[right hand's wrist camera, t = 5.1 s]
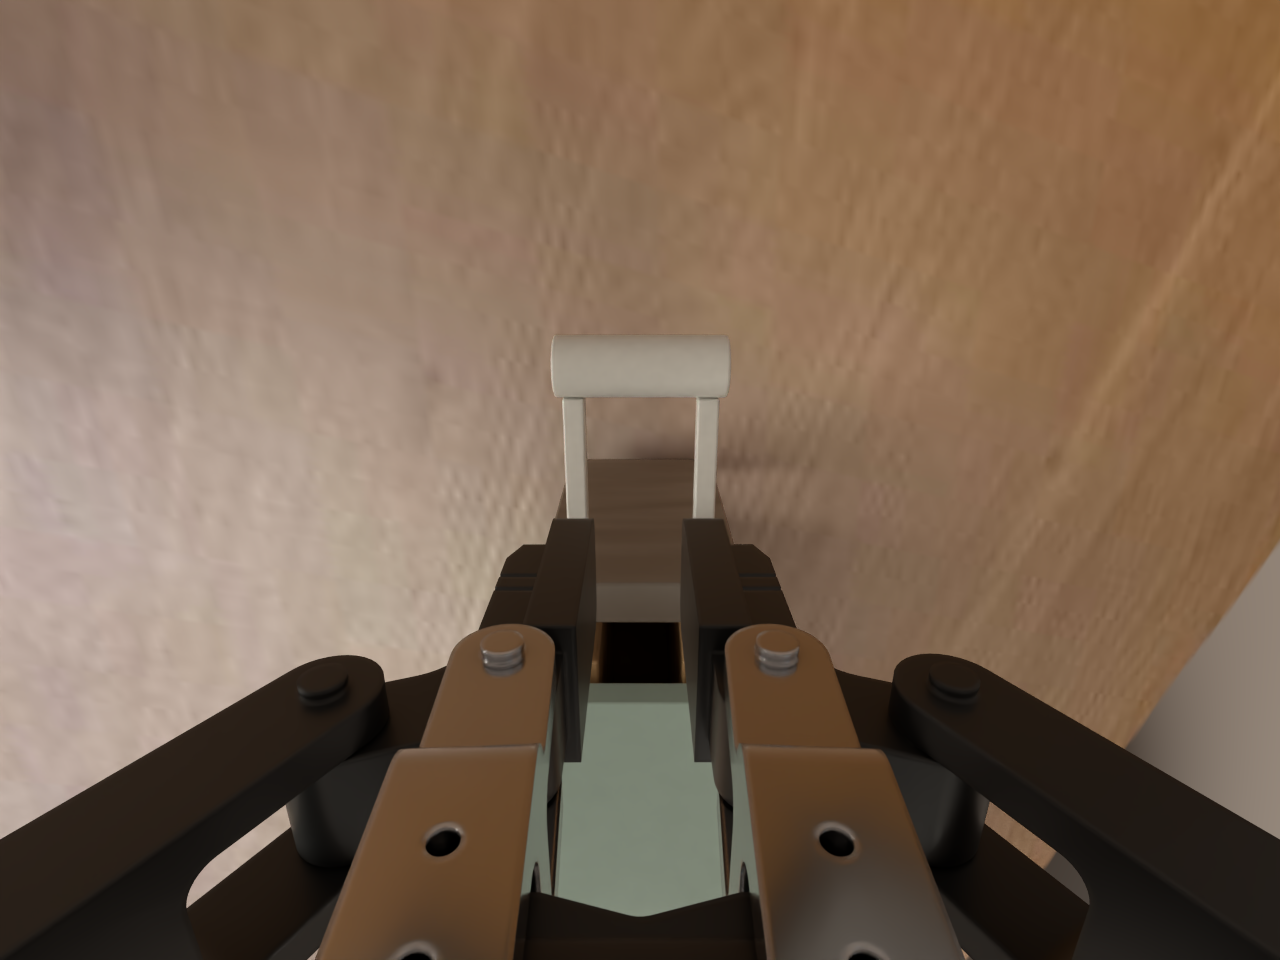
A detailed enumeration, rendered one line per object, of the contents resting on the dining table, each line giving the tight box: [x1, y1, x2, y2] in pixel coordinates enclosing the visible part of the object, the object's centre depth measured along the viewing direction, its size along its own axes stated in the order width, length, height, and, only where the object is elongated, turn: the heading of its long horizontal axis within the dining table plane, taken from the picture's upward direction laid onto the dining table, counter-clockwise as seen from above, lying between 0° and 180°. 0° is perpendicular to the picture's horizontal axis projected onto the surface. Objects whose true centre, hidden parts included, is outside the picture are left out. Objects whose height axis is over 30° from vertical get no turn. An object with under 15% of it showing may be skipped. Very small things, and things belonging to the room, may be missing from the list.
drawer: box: [551, 335, 734, 683], centre depth 24 cm, size 25×5×10 cm, turn 0°
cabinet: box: [558, 683, 722, 916], centre depth 27 cm, size 20×7×12 cm, turn 0°
